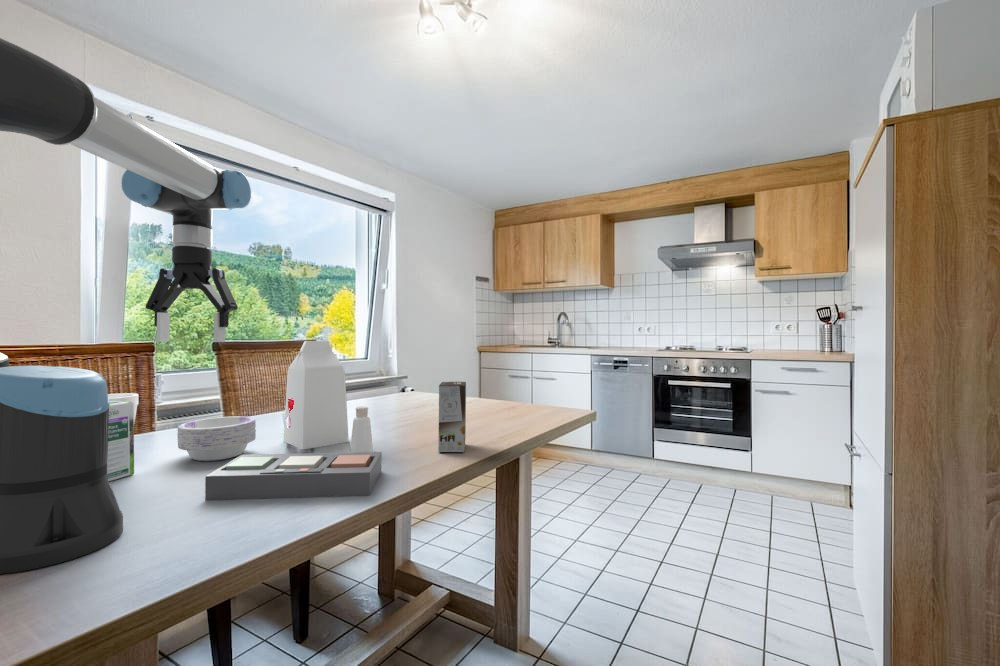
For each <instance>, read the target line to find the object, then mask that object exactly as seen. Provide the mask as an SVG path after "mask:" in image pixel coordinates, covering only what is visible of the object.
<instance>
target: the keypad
mask: <svg viewBox="0 0 1000 666" xmlns="http://www.w3.org/2000/svg"><path fill="white" fill-rule="evenodd" d="M339 455H371V464H370V466H369V467H354V468H331V464H332V463H333V462H334V460H335V459H336V458H337V457H338V456H339ZM290 456H323V463H322V464H321V465H320V466H319V467H318V468H301V469H279V465H280V464H281V463H283V462H284V461H285V460H287V459H288V458H289V457H290ZM241 457H274V463H272V464H271V465H270V466H268V467H267V468H266V469H263V470H226V466H227V465H229V464H231V463H232V462H234V461H236V460H237V459H239V458H241ZM381 473H382V451H373V452H353V453H350V452H312V453H311V452H310V453H308V452H307V453H306V452H305V453H300V452H299V453H256V454H255V453H254V454H253V453H252V454H240V455H238V456H236V458H235V457H234V458H233V459H232V460H231V461H229V462H227V463H225V464H224V465H222V466H220V467H219V468H217V469H214V470H213V471H212V472H210V473H208V474H206V475H205V477H204V478H205V480H204V481H205V482H204V483H205V485H204V486H205V487H204V488H205V489H204V490H205V491H204V493H205V494H204V499H205V501H214V500H215V501H217V500H218V501H220V500H251V499H253V500H254V499H255V500H256V499H259V500H260V499H285V498H287V499H290V498H291V499H292V498H322V497H324V498H325V497H357V496H358V497H359V496H360V497H361V496H362V497H363V496H370V495H371V494H372V492H373V489H374V487H375V486H376V484H377V482H378V479H379V477H380V475H381Z"/></svg>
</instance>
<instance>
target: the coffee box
mask: <svg viewBox="0 0 1000 666" xmlns="http://www.w3.org/2000/svg"><path fill="white" fill-rule="evenodd" d="M466 404H467V382H466V381H442V382H440V384H439V385H438V445H437V446H438V447H437V450H438V451H437V452H438V453H439V452H463V453H465V449H466V448H465V447H466V430H467V429H466V427H467V426H466V422H467V421H466V419H467V418H466V415H467V408H466V407H467V405H466Z"/></svg>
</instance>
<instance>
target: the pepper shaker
mask: <svg viewBox="0 0 1000 666" xmlns="http://www.w3.org/2000/svg"><path fill="white" fill-rule="evenodd" d="M368 410H369V407H368V406H364V405H362V406H361V405H360V406H357V407H355V417H354V418H353V421H352V429H351V437H350V438H351V439H350V447H349V453H353V452H374V448H373V447H374V446H373V436H372V435H373V434H372V425H371V418H370V416H368V414H369V411H368Z"/></svg>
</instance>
